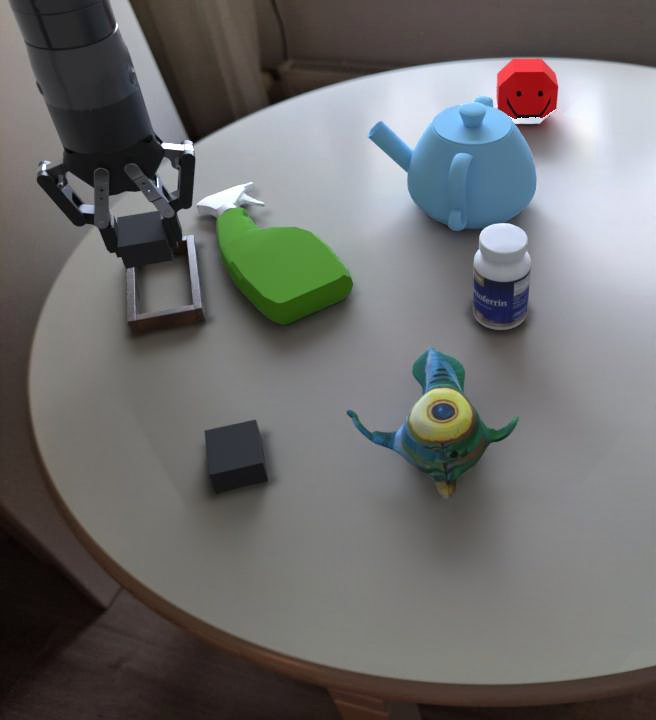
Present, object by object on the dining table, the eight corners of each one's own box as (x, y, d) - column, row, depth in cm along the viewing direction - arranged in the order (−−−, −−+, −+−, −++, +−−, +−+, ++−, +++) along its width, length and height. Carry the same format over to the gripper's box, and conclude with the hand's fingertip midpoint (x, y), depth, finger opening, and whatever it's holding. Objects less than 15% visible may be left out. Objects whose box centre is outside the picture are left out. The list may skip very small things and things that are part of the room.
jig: (132, 335, 81) (127, 321, 80) (130, 258, 90) (125, 245, 88) (205, 321, 83) (201, 308, 82) (197, 247, 91) (193, 234, 90)
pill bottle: (461, 317, 84) (461, 240, 77) (492, 288, 87) (495, 212, 80) (507, 340, 82) (512, 263, 74) (537, 309, 85) (544, 232, 78)
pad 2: (215, 493, 68) (208, 475, 66) (210, 448, 71) (204, 430, 69) (268, 481, 69) (262, 462, 67) (261, 437, 72) (256, 418, 70)
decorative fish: (538, 433, 73) (542, 389, 69) (447, 520, 66) (446, 477, 62) (433, 365, 79) (431, 321, 75) (341, 439, 72) (333, 395, 68)
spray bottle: (271, 334, 82) (179, 220, 95) (364, 293, 86) (263, 190, 100) (265, 312, 79) (172, 199, 93) (361, 271, 84) (259, 169, 98)
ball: (498, 132, 110) (500, 79, 104) (495, 103, 116) (496, 51, 110) (556, 132, 110) (561, 79, 105) (550, 103, 116) (555, 51, 110)
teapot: (523, 260, 90) (530, 162, 81) (351, 239, 93) (339, 141, 84) (543, 166, 104) (551, 73, 95) (393, 150, 106) (386, 57, 97)
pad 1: (125, 269, 77) (117, 247, 75) (125, 238, 81) (116, 217, 79) (173, 260, 78) (165, 239, 76) (170, 230, 82) (163, 209, 80)
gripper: (176, 53, 71) (218, 214, 83) (0, 74, 68) (71, 238, 80) (181, 93, 66) (225, 257, 78) (-8, 118, 63) (69, 285, 75)
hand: (147, 247), depth 79 cm, fingers closed on pad 1, 4 cm apart
